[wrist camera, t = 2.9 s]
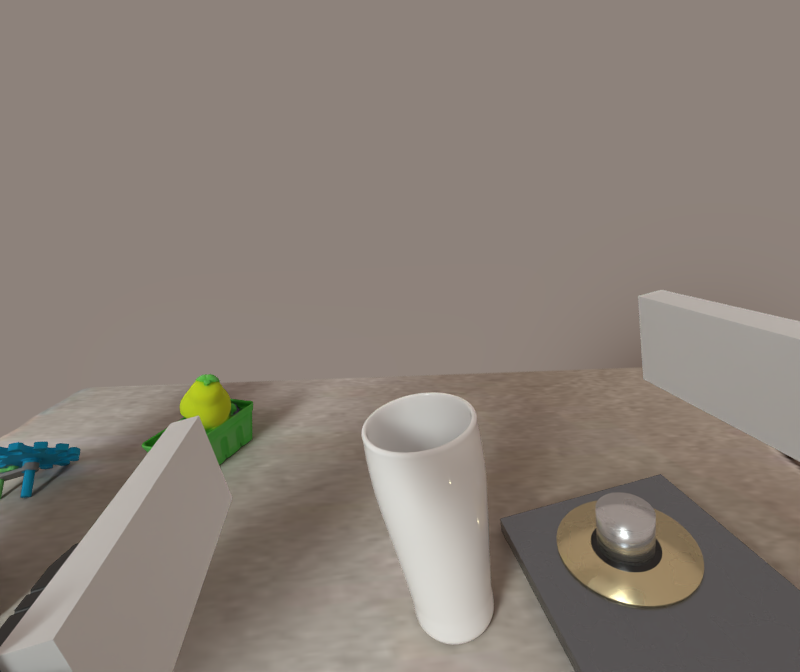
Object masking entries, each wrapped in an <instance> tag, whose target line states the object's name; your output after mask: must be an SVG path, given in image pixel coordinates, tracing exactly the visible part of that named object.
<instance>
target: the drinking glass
mask: <svg viewBox="0 0 800 672" xmlns="http://www.w3.org/2000/svg"><path fill="white" fill-rule="evenodd" d="M361 436H362V441H363V446H364V452H365V457H366V462H367V466H368V471H369V475H370V479H371V483H372V486H373V490H374V493H375V497H376V500H377V503H378V506H379V509H380V511H381V514H382V517H383V520H384V523H385V525H386V528H387V531H388V533H389V536H390V539H391V542H392V544H393V547H394V550H395V553H396V555H397V558H398V561H399V564H400V566H401V569H402V572H403V575H404V578H405V580H406V583H407V586H408V589H409V592H410V595H411V598H412V601H413V605H414V609H415V613H416V617H417V619H418V622H419V624H420V625H421V627H422V628H423V630H424V631H425V632H426V633H427V634H428V635H429V636H430V637H432V638H433V639H435V640H437V641H439V642H442V643H445V644H453V645H455V644H463V643H467V642H470V641H472V640H474V639H475V638H477V637H478V636H480V635H481V634H482V633H483V632H484V631H485V630H486V628H487V627H488V625H489V623H490V621H491V619H492V616H493V612H494V597H493V590H492V584H491V566H490V544H489V519H488V492H487V476H486V466H485V458H484V451H483V445H482V439H481V434H480V429H479V424H478V420H477V414H476V411H475V409H474V407H473V406H472V405H471V404H470V403H469V402H468V401H466V400H465V399H463V398H461V397H458V396H455V395H452V394H447V393H438V392H427V393H418V394H412V395H408V396H404V397H401V398H398V399H395V400H393V401H390V402H388V403H386V404H384V405H383V406H381V407H379V408H378V409H377V410H375V411H374V412H373V413H372V414H371V415H370V416H369V417H368V418H367V419H366V421H365V422H364V425H363V427H362V432H361Z"/></svg>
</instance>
